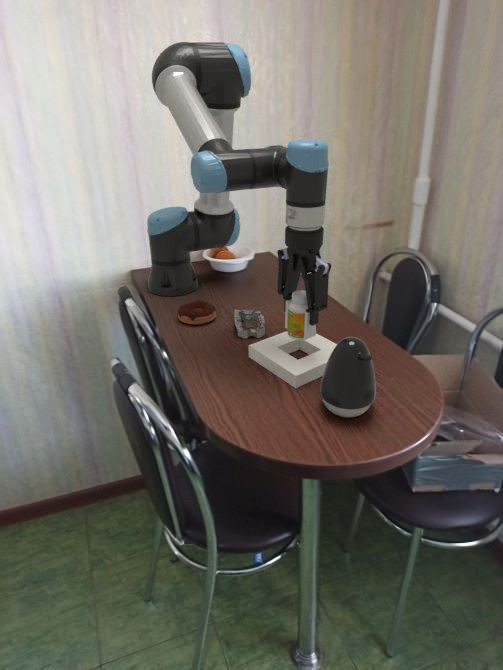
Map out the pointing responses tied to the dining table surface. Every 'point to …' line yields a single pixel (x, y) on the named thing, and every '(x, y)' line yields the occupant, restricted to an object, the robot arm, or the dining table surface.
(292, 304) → the supplement bottle
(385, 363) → the dining table surface
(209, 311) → the donut
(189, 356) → the dining table surface
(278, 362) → the socket holder
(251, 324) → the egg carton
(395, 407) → the dining table surface
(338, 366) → the pump dispenser
